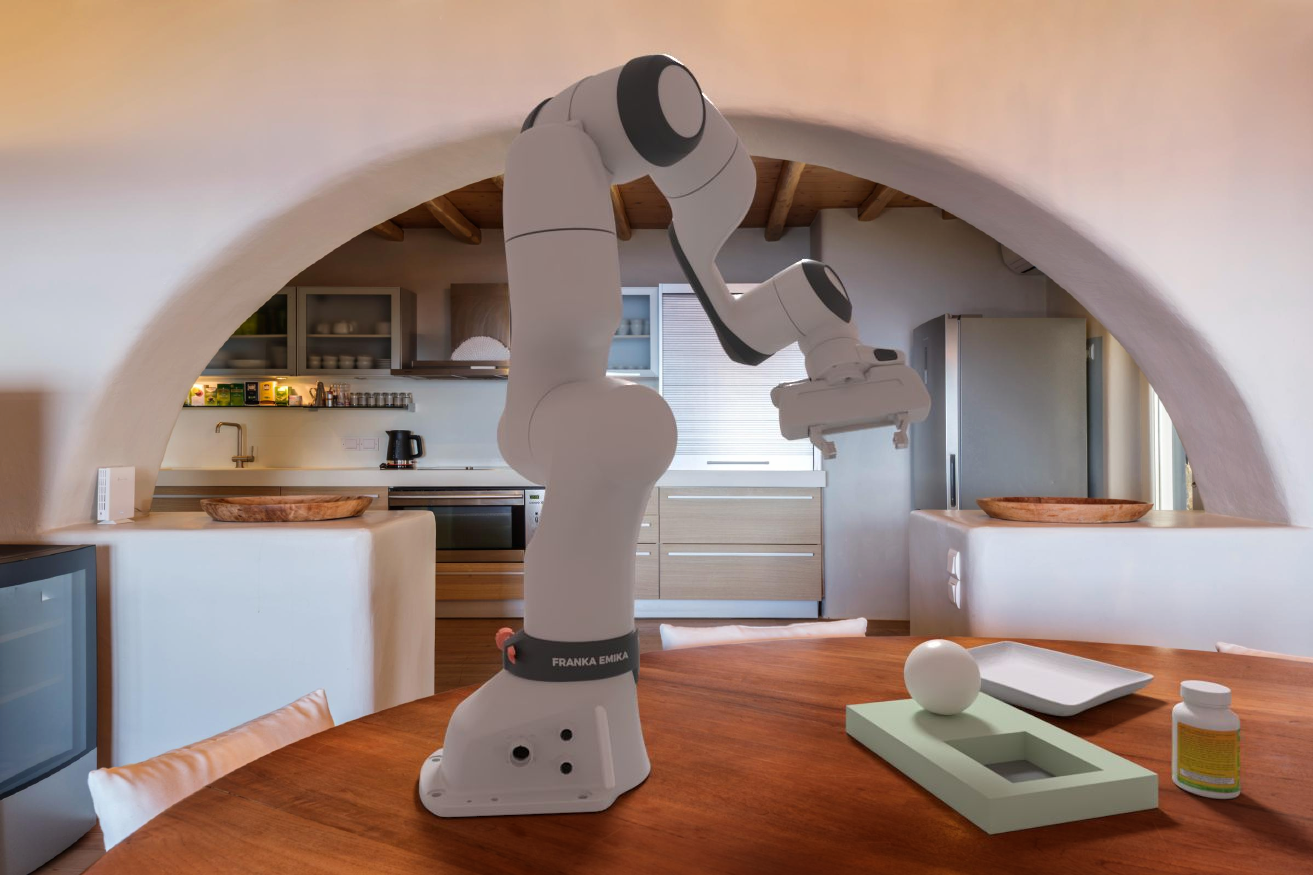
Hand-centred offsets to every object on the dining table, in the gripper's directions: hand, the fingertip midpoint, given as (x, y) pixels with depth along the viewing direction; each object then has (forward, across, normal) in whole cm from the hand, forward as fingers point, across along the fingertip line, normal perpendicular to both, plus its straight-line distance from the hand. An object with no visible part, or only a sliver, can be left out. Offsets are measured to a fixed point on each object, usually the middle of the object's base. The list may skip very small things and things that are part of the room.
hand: (866, 451), depth 103 cm
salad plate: (+26, +18, +24) cm, 40 cm away
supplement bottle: (+44, +21, +1) cm, 49 cm away
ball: (+29, +1, +3) cm, 29 cm away
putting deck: (+39, +2, +2) cm, 39 cm away
